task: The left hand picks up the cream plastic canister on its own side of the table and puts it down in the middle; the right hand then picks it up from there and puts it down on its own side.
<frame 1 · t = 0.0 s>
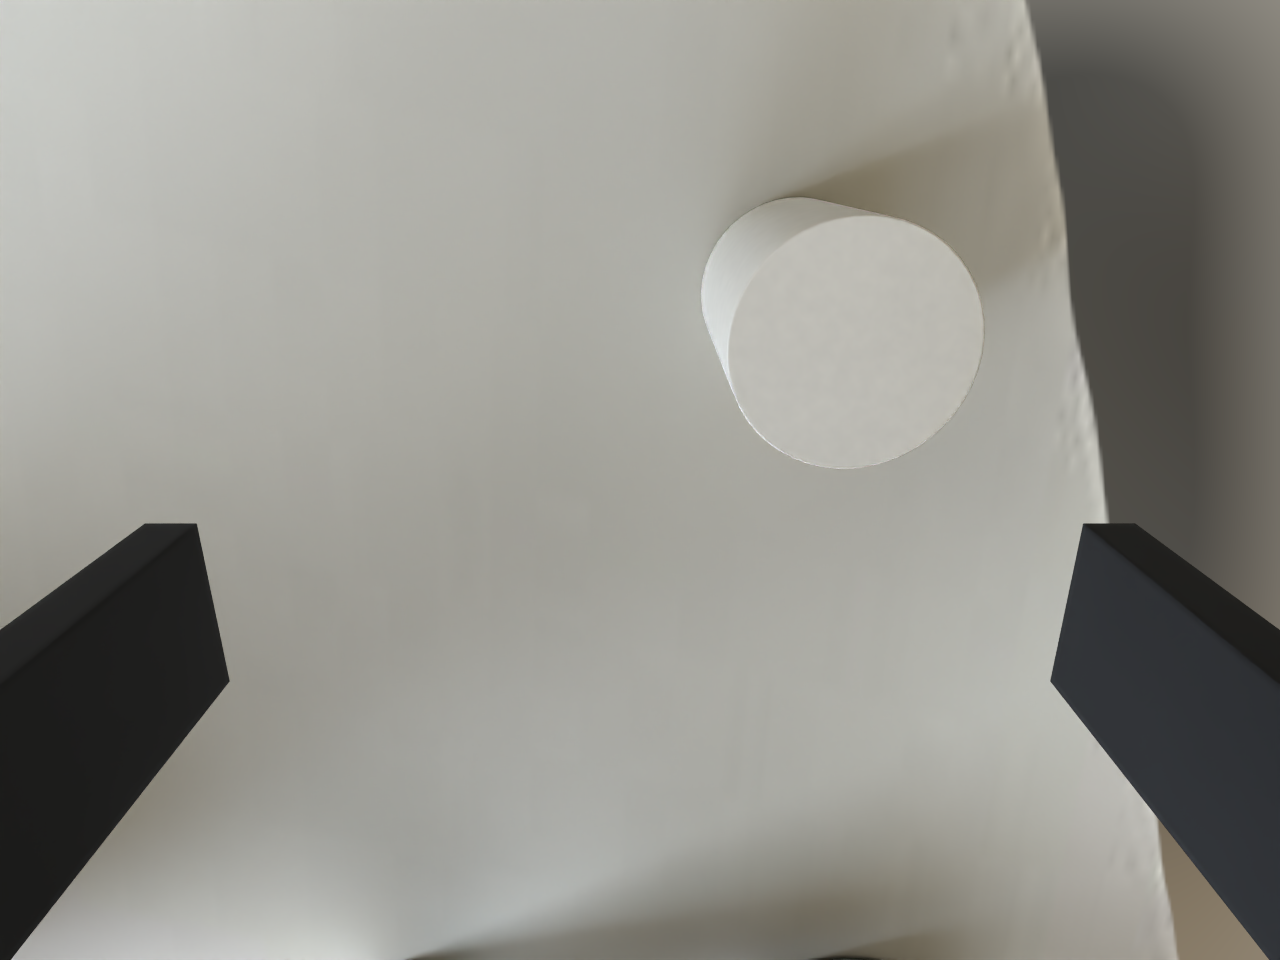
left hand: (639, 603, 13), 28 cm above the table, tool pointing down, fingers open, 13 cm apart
canister: (791, 292, 39), on the table
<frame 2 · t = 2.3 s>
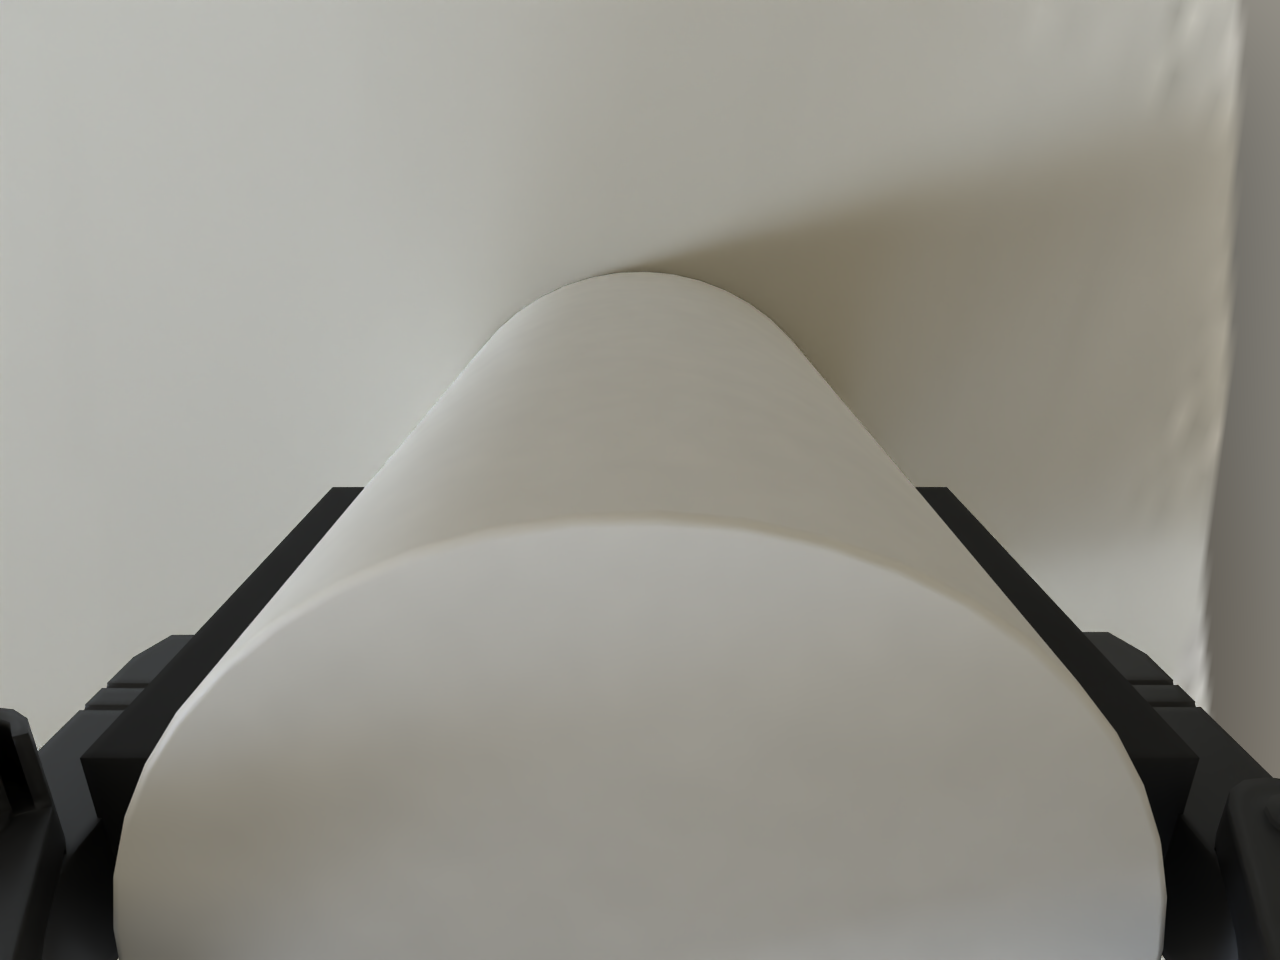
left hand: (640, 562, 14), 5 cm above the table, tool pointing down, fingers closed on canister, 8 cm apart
canister: (639, 468, 18), on the table, touching left hand
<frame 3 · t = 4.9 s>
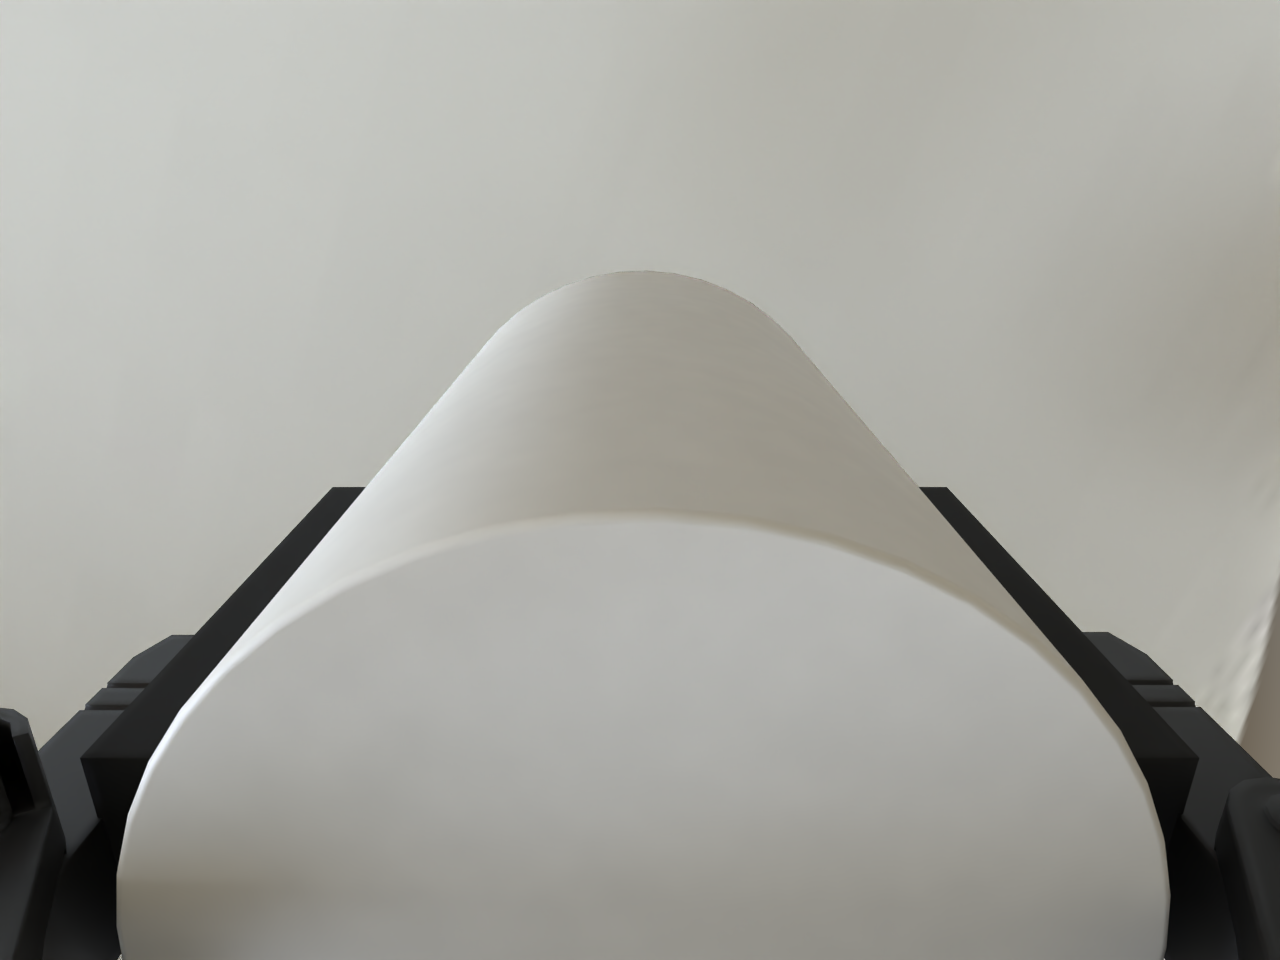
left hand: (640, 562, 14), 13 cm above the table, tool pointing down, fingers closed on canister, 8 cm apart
canister: (641, 467, 18), point 8 cm above the table, touching left hand
when the left hand's fingers open (5 cm above the table, at t = 7.6 s): canister stays where it is, on the table.
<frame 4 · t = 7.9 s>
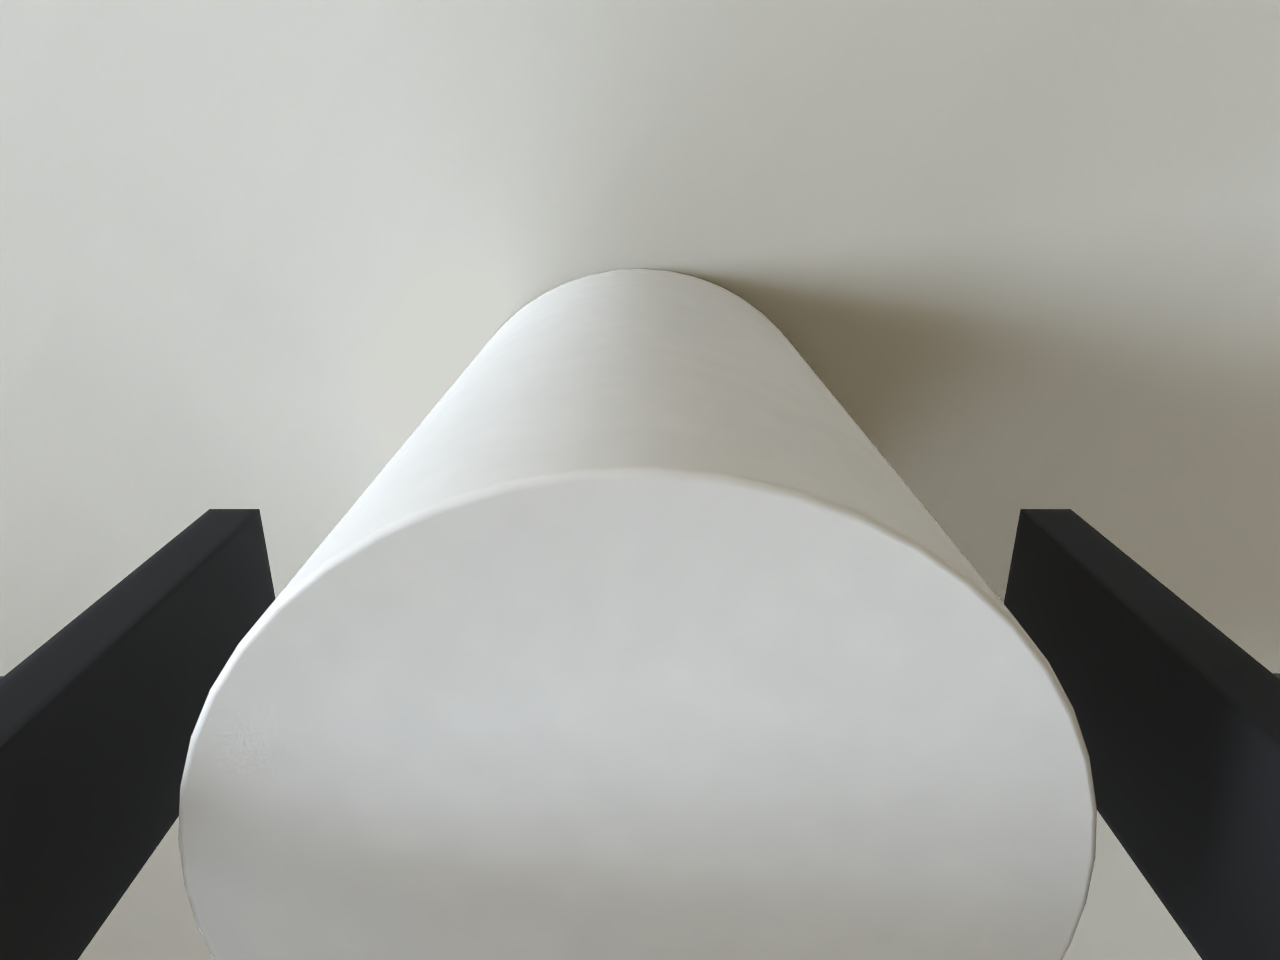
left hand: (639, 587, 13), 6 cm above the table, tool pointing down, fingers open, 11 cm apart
canister: (639, 456, 19), on the table
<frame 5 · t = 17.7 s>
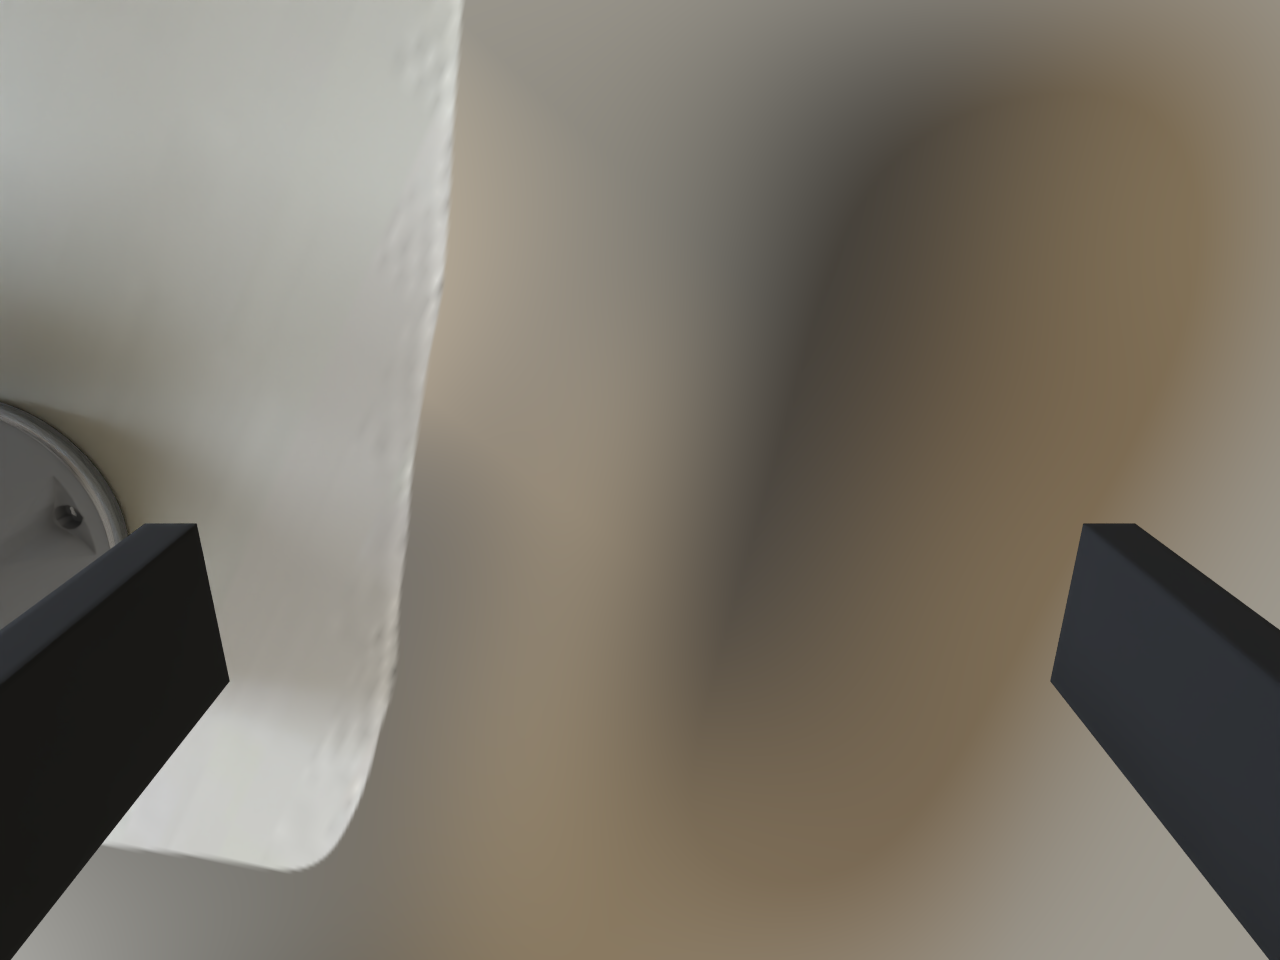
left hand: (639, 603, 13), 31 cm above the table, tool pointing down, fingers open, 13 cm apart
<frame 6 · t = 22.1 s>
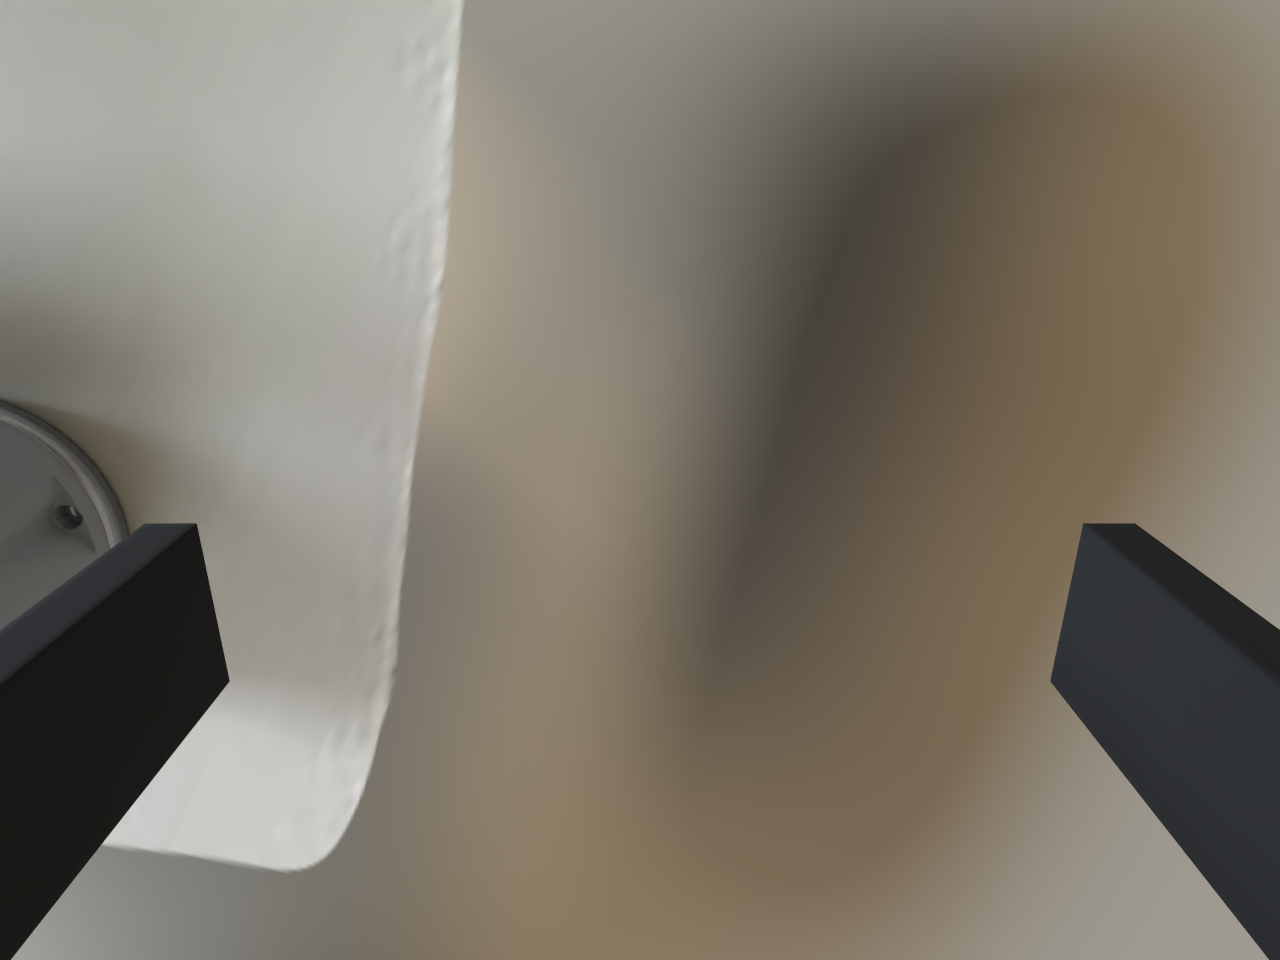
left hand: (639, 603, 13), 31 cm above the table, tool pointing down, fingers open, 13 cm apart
when the right hand's fingers open (5 cm above the table, at t = 26.5 s): canister stays where it is, on the table.
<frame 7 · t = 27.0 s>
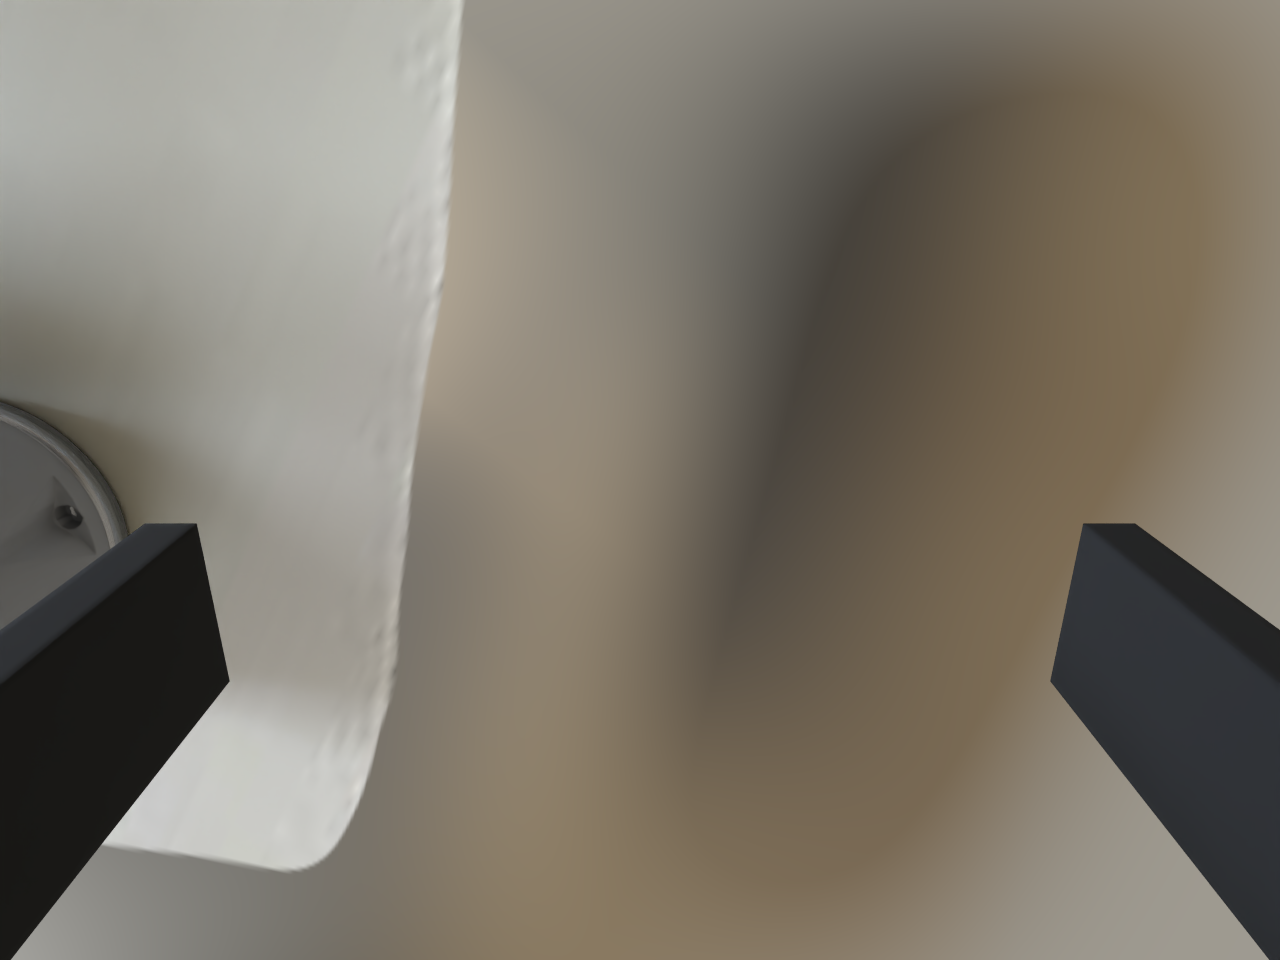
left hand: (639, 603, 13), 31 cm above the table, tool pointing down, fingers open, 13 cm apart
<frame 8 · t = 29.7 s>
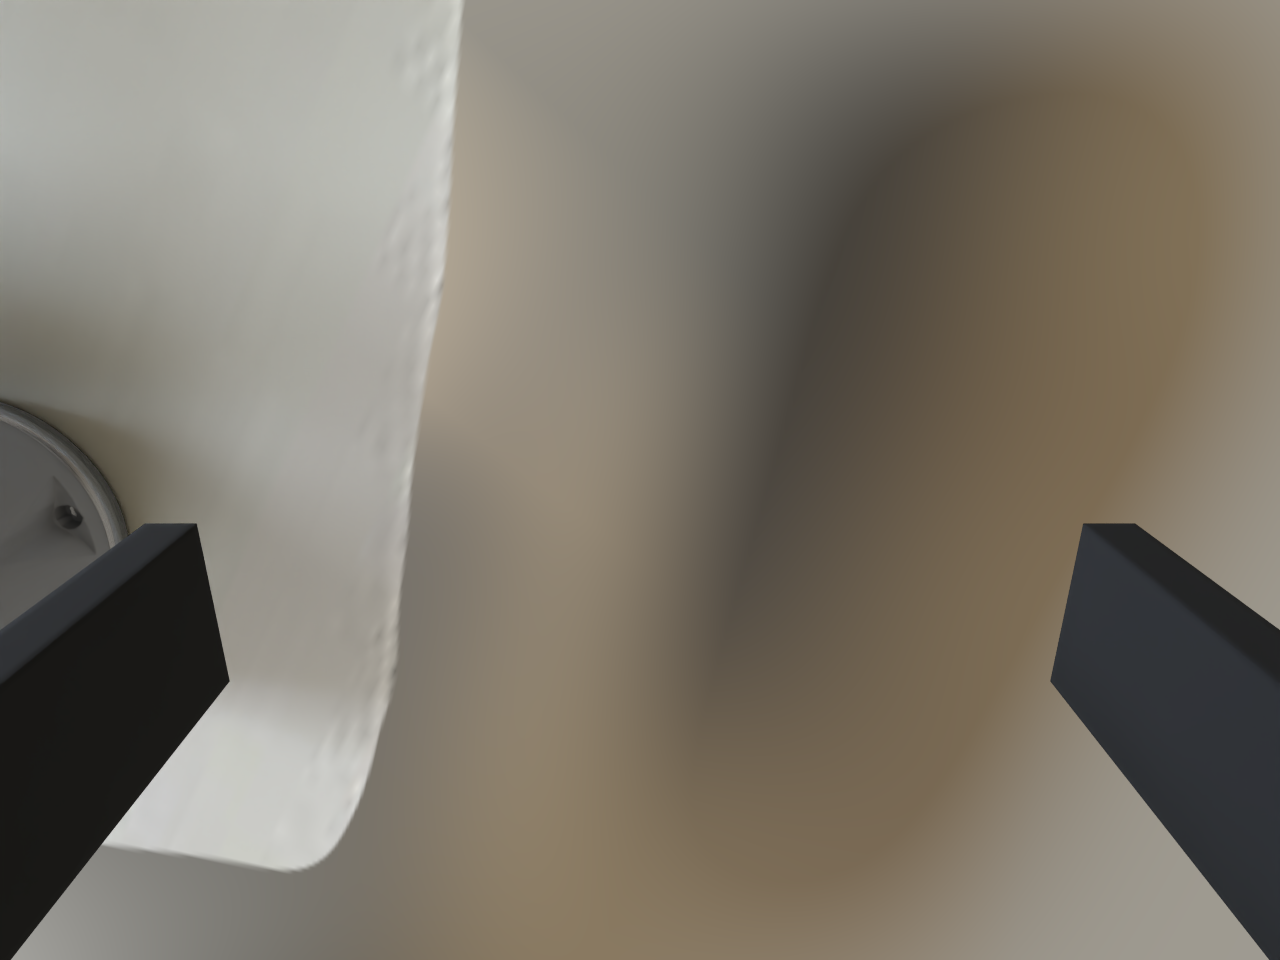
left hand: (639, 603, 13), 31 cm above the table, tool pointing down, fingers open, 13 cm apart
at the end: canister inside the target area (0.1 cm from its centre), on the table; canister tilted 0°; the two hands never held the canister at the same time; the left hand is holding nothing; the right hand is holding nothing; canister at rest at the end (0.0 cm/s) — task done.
